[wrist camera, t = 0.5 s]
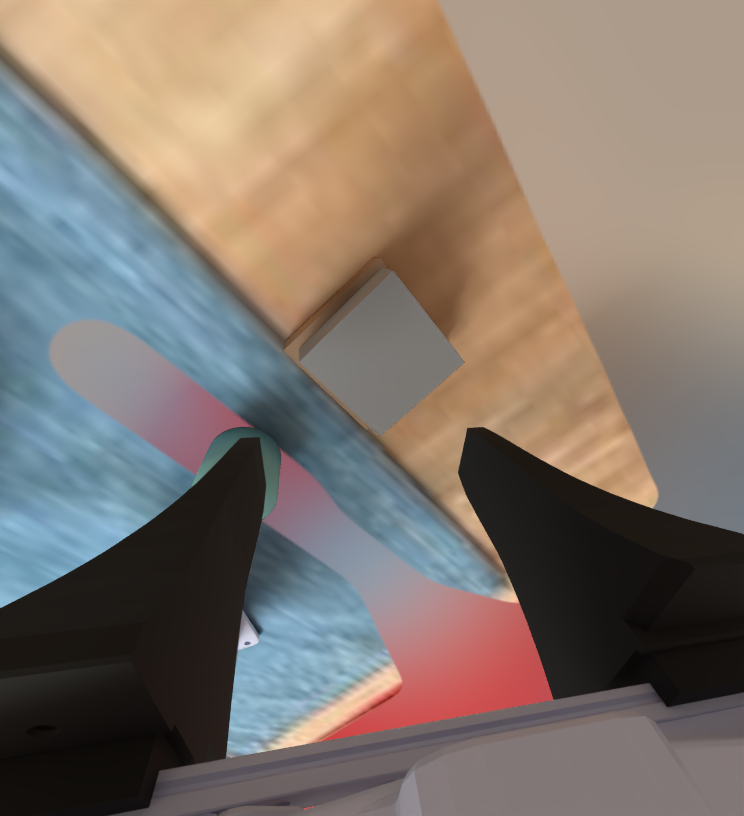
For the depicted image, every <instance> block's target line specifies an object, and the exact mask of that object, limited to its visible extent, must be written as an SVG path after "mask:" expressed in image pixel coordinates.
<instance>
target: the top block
mask: <svg viewBox="0 0 744 816" xmlns="http://www.w3.org/2000/svg"><path fill="white" fill-rule="evenodd" d="M299 362H300V363H301V364H302V365H303V366H304V367H305V368H306V369H307V370H308V371H309V372H310V373H312V374H313V375H314V376H315V377H316V378H317V379H318V380H319V381H320V382H321V383H322V384H323V385H325V386H326V387H327V388H328V389H329V390H330V391H331V392H332V393H333V394H334V395H335V396H337V397H338V398H339V399H340V400H341V401H342V402H343V403H344V404H345V405H346V406H347V407H349V408H350V409H351V410H352V411H353V412H354V413H355V414H356V415H357V416H358V417H359V418H360V419H362V420H363V421H364V422H365V423H366V424H367V425H368V426H369V427H370V428H371V429H372V430H374V431H375V432H376V433H377V434H378V435H379V436H382V435H383V434H384V433H385V432H386V431H387V430H388V429H390V428H391V427H392V426H393V425H394V424H395V423H396V422H397V421H399V420H400V419H401V418H402V417H403V416H404V415H405V414H407V413H408V412H409V411H410V410H411V409H412V408H413V407H415V406H416V405H417V404H418V403H419V402H420V401H421V400H423V399H424V398H425V397H426V396H427V395H428V394H429V393H430V392H432V391H433V390H434V389H435V388H436V387H437V386H438V385H440V384H441V383H442V382H443V381H444V380H445V379H446V378H448V377H449V376H450V375H451V374H452V373H453V372H454V371H455V370H457V369H458V368H459V367H460V366H461V365H462V364H463V363H465V362H464V360H463V359H462V358H461V357H460V355H459V354H458V353H457V351H456V350H455V349H454V348H453V346H452V345H451V344H450V342H449V341H448V340H447V339H446V337H445V336H444V335H443V333H442V332H441V331H440V330H439V328H438V327H437V326H436V324H435V323H434V322H433V321H432V319H431V318H430V317H429V316H428V314H427V313H426V312H425V310H424V309H423V308H422V307H421V305H420V304H419V303H418V301H417V300H416V299H415V298H414V296H413V295H412V294H411V292H410V291H409V290H408V289H407V287H406V286H405V285H404V283H403V282H402V281H401V280H400V278H399V277H398V276H397V274H396V273H395V272H394V271H393V270H389V269H384V268H381V269H380V270H379V271H378V272H377V273H376V274H375V275H374V276H373V277H372V278H371V279H370V280H369V281H368V282H366V283H365V284H364V285H363V286H362V287H361V288H360V289H359V290H358V291H357V292H356V293H355V294H354V295H353V296H352V297H351V298H350V299H349V300H348V301H347V302H346V303H345V304H344V305H343V306H342V307H341V308H340V309H339V310H338V311H337V312H336V313H335V314H334V315H333V316H332V317H331V318H330V319H329V320H328V321H327V322H326V323H325V324H324V325H323V326H322V327H321V328H320V329H319V330H318V331H317V332H316V333H315V334H313V335H312V336H311V337H310V338H309V339H308V340H307V341H306V342H305V343H304V344H303V345H302V346H301V347H300V348H299Z"/></svg>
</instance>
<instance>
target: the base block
mask: <svg viewBox="0 0 744 816" xmlns="http://www.w3.org/2000/svg"><path fill="white" fill-rule="evenodd" d="M381 268H384V269H389V267H388V266H387V265H386V263H385V262H384V261H383V259H382V258H377V257H373V258H372V259H371V260H370V261H369V262H368V263H367V264H366V265H365V266H364V267H363V268H362V269H361V270H360V271H359V272H358V273H357V274H356V275H354V276H353V277H352V278H351V279H350V280H349V281H348V282H347V283H346V284H345V285H344V286H343V287H342V288H341V289H340V290H339V291H338V292H337V293H336V294H335V295H333V296H332V297H331V298H330V299H329V300H328V301H327V302H326V303H325V304H324V305H323V306H322V307H321V308H320V309H319V310H318V311H317V312H316V313H315V314H313V315H312V316H311V317H310V318H309V319H308V320H307V321H306V322H305V323H304V324H303V325H302V326H301V327H300V328H299V329H298V330H297V331H296V332H295V333H293V334H292V335H291V336H290V337H289V338H288V339H287V340H286V341H285V342H284V348H283V351H284V352H285V353H286V354H287V355H288V356H289V357H290V358H291V359H292V360H293V361H294V362H295V363H297V364H298V365H299V366H300V367H301V368H302V369H303V370H304V371H305V372H306V373H307V374H308V375H309V376H310V377H311V378H312V379H313V380H314V381H315V382H316V383H318V384H319V385H320V386H321V387H322V388H323V389H324V390H325V391H326V392H327V393H328V394H329V395H330V396H331V397H332V398H333V399H334V400H335V401H336V402H338V403H339V404H340V405H341V406H342V407H343V408H344V409H345V410H346V411H347V412H348V413H349V414H350V415H351V416H352V417H353V418H354V419H355V420H356V421H358V422H359V423H360V424H361V425H362V426H363V427H364V428H365V429H366V430H368V429H369V428H370V427H369V426H368V425H367V424H366V423H365V422H364V421H363V420H362V419H360V418H359V417H358V416H357V415H356V414H355V413H354V412H353V411H352V410H351V409H350V408H349V407H347V406H346V405H345V404H344V403H343V402H342V401H341V400H340V399H339V398H338V397H337V396H335V395H334V394H333V393H332V392H331V391H330V390H329V389H328V388H327V387H326V386H325V385H323V384H322V383H321V382H320V381H319V380H318V379H317V378H316V377H315V376H314V375H313V374H312V373H310V372H309V371H308V370H307V369H306V368H305V367H304V366H303V365H302V364H301V363H300V362H299V348H300V347H301V346H302V345H303V344H304V343H305V342H306V341H307V340H308V339H309V338H310V337H311V336H312V335H313V334H315V333H316V332H317V331H318V330H319V329H320V328H321V327H322V326H323V325H324V324H325V323H326V322H327V321H328V320H329V319H330V318H331V317H332V316H333V315H334V314H335V313H336V312H337V311H338V310H339V309H340V308H341V307H342V306H343V305H344V304H345V303H346V302H347V301H348V300H349V299H350V298H351V297H352V296H353V295H354V294H355V293H356V292H357V291H358V290H359V289H360V288H361V287H362V286H363V285H364V284H365V283H366V282H368V281H369V280H370V279H371V278H372V277H373V276H374V275H375V274H376V273H377V272H378V271H379V270H380V269H381ZM389 270H390V269H389Z"/></svg>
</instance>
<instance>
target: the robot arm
mask: <svg viewBox="0 0 744 816" xmlns="http://www.w3.org/2000/svg"><path fill="white" fill-rule="evenodd" d="M458 474H459V477H460V480H461V482H462V485H463V488H464V490H465V493H466V495H467V498H468V500H469V501H470V503H471V505H472V507H473V509H474V511H475V513H476V514H477V516H478V518H479V520H480V522H481V523H482V525H483V527H484V529H485V531H486V532H487V534H488V536H489V538H490V540H491V541H492V543H493V545H494V547H495V549H496V550H497V552H498V554H499V556H500V558H501V560H502V562H503V564H504V567H505V569H506V571H507V574H508V576H509V578H510V581H511V583H512V585H513V588H514V590H515V593H516V595H517V598H518V600H519V603H520V605H521V608H522V610H523V613H524V615H525V618H526V620H527V623H528V626H529V629H530V631H531V634H532V637H533V640H534V643H535V645H536V648H537V651H538V653H539V656H540V659H541V662H542V665H543V668H544V671H545V674H546V677H547V681H548V683H549V687H550V690H551V693H552V696H553V699H554V700H552V701H546V702H540V703H534V704H529V705H523V706H518V707H512V708H506V709H501V710H495V711H490V712H484V713H479V714H473V715H467V716H462V717H456V718H451V719H445V720H440V721H434V722H429V723H423V724H417V725H412V726H406V727H400V728H395V729H389V730H384V731H378V732H373V733H367V734H362V735H356V736H350V737H345V738H339V739H333V740H328V741H322V742H317V743H311V744H306V745H300V746H294V747H289V748H283V749H278V750H272V751H266V752H261V753H255V754H250V755H244V756H239V757H233V758H230V757H229V756H226V752H227V741H228V731H229V721H230V711H231V701H232V692H233V683H234V674H235V667H236V661H237V654H238V650H240V649H243V648H246V647H249V646H252V645H255V644H257V643H258V642H259V638H260V637H259V634H258V633H257V631H256V630H255V628H254V627H253V625H252V623H251V622H250V620H249V619H248V617H247V616H246V614H245V612H244V611H243V604H244V596H245V590H246V585H247V580H248V575H249V571H250V567H251V563H252V558H253V554H254V550H255V546H256V542H257V538H258V534H259V529H260V525H261V521H262V517H263V512H264V504H265V494H266V479H265V472H264V464H263V457H262V450H261V443H260V437H249V438H240V439H239V440H238V441H237V442H236V443H235V444H234V445H233V446H232V447H231V448H230V449H229V450H228V451H227V452H226V453H225V454H224V456H223V457H222V458H221V459H220V460H219V461H218V462H217V463H216V464H215V465H214V466H213V467H212V468H211V469H210V470H209V471H208V472H207V473H206V474H205V475H204V476H203V477H202V478H201V479H200V480H199V481H198V482H197V483H196V484H195V485H193V486H192V487H191V488H190V489H189V490H188V491H187V492H186V493H185V494H184V495H183V496H181V497H180V498H179V499H178V500H177V501H175V502H174V503H173V504H172V505H171V506H169V507H168V508H167V509H166V510H164V511H163V512H162V513H160V514H159V515H158V516H156V517H155V518H154V519H152V520H151V521H150V522H148V523H147V524H146V525H144V526H143V527H141V528H140V529H138V530H137V531H135V532H134V533H132V534H131V535H129V536H128V537H126V538H125V539H123V540H122V541H120V542H119V543H117V544H116V545H114V546H113V547H111V548H110V549H108V550H106V551H105V552H103V553H102V554H100V555H98V556H97V557H95V558H93V559H92V560H90V561H88V562H87V563H85V564H83V565H81V566H80V567H78V568H76V569H74V570H73V571H71V572H69V573H67V574H66V575H64V576H62V577H60V578H58V579H56V580H55V581H53V582H51V583H49V584H47V585H45V586H43V587H41V588H39V589H37V590H35V591H33V592H31V593H29V594H28V595H26V596H24V597H22V598H20V599H18V600H16V601H14V602H12V603H10V604H8V605H6V606H4V607H2V608H0V816H744V534H741V533H738V532H734V531H730V530H726V529H722V528H718V527H714V526H710V525H707V524H702V523H699V522H695V521H691V520H688V519H684V518H681V517H678V516H675V515H671V514H668V513H665V512H662V511H658V510H655V509H652V508H650V507H647V506H644V505H641V504H638V503H635V502H632V501H630V500H627V499H624V498H622V497H619V496H616V495H614V494H611V493H609V492H606V491H604V490H602V489H599V488H597V487H595V486H592V485H590V484H588V483H586V482H584V481H581V480H579V479H577V478H575V477H573V476H571V475H569V474H567V473H565V472H563V471H561V470H559V469H557V468H555V467H553V466H551V465H549V464H548V463H546V462H544V461H542V460H540V459H539V458H537V457H535V456H533V455H532V454H530V453H528V452H526V451H525V450H523V449H521V448H520V447H518V446H516V445H515V444H513V443H511V442H510V441H508V440H506V439H504V438H503V437H501V436H499V435H498V434H496V433H494V432H492V431H490V430H488V429H486V428H484V427H477V428H467V433H466V438H465V442H464V447H463V452H462V457H461V461H460V466H459V471H458ZM321 804H322V805H321ZM317 805H319V806H317ZM312 806H316V807H313V808H309V809H307V810H304V809H303V808H306V807H312Z"/></svg>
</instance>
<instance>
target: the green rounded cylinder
mask: <svg viewBox="0 0 744 816" xmlns="http://www.w3.org/2000/svg"><path fill="white" fill-rule="evenodd" d="M249 437H260V443H261V450H262V457H263V464H264V472H265V479H266V494H265V504H264V512H263V517H262V520H263V519H264V518H265V517H267V516H268V515H269V514H270V513H271V512H272V510H273V509H274V507H275V505H276V502H277V496H278V485H279V475H280V465H281V452H280V449H279V447H278V445H277V443H276V442H275V440H274V439H273V438H272V437H270V436H269V435H268V434H266V433H265V432H263V431H261V430H258V429H254V428H251V427H237V428H232V429H229V430H226V431H224V432H222V433H221V434H219V435H218V436H217V437H216V438H215V439H214V440H213V442H212V443H211V445H210V447H209V449H208V452H207V454H206V456H205V458H204V460H203V462H202V464H201V466H200V469H199V470H198V473H197V475H196V477H195V479H194V481H193V483H192V486H193V485H195V484H196V483H197V482H198V481H199V480H200V479H201V478H202V477H203V476H204V475H205V474H206V473H207V472H208V471H209V470H210V469H211V468H212V467H213V466H214V465H215V464H216V463H217V462H218V461H219V460H220V459H221V458H222V457H223V456H224V454H225V453H226V452H227V451H228V450H229V449H230V448H231V447H232V446H233V445H234V444H235V443H236V442H237V441H238V440H239V439H240V438H249ZM192 486H191V487H192Z"/></svg>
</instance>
